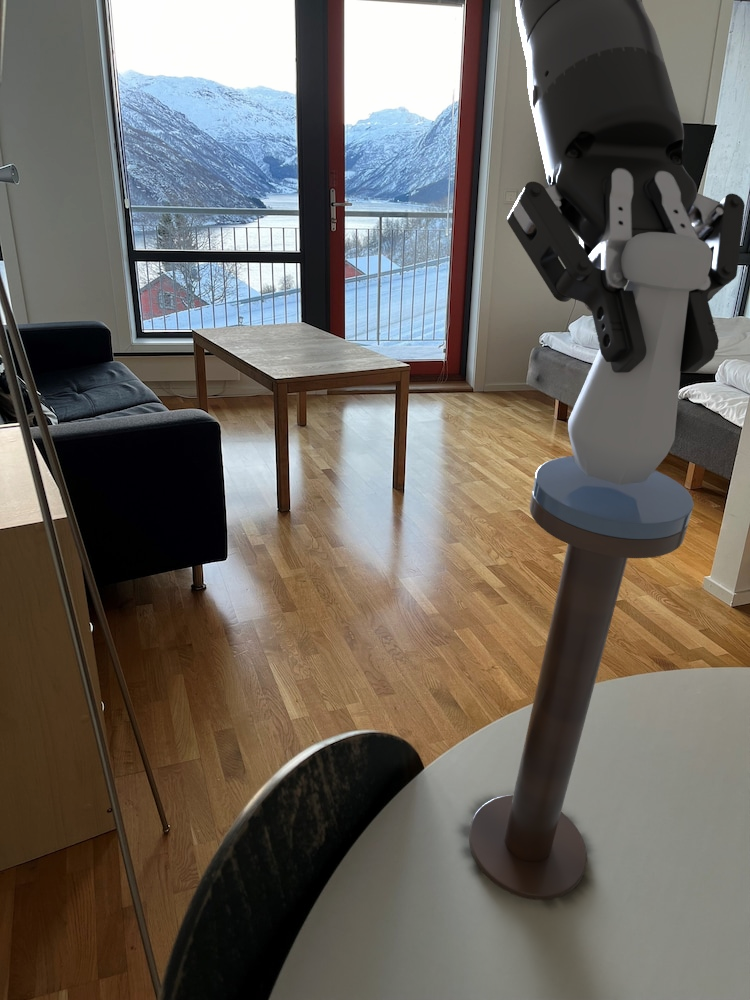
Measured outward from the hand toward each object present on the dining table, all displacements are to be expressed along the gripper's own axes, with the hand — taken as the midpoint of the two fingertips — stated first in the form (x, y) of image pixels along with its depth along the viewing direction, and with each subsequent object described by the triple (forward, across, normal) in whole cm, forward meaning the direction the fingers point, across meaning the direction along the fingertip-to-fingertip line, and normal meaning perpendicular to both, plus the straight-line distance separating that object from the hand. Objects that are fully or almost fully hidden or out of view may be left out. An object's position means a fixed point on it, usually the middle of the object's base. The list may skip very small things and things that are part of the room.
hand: (664, 364), depth 38 cm
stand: (+27, 0, +30) cm, 40 cm away
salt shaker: (+4, 0, +6) cm, 7 cm away
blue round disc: (+5, 0, +8) cm, 9 cm away
